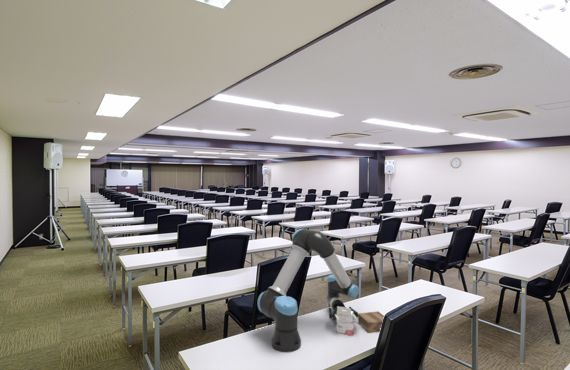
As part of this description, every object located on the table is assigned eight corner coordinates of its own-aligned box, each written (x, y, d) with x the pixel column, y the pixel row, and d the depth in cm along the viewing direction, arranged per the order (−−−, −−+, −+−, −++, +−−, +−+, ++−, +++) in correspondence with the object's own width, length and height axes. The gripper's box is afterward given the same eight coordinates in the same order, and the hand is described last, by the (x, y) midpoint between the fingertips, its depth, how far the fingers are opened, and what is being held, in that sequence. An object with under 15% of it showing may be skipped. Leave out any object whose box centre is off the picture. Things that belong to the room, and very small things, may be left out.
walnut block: (368, 333, 178) (368, 322, 178) (358, 323, 191) (358, 313, 191) (389, 331, 181) (389, 320, 181) (378, 321, 194) (378, 311, 193)
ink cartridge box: (354, 331, 180) (353, 305, 179) (351, 335, 175) (351, 308, 175) (339, 328, 184) (339, 303, 183) (336, 332, 179) (336, 306, 179)
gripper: (354, 310, 198) (367, 327, 176) (319, 312, 196) (327, 329, 174) (354, 298, 198) (367, 313, 176) (319, 300, 196) (327, 315, 174)
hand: (347, 321), depth 175 cm, fingers closed on ink cartridge box, 9 cm apart
